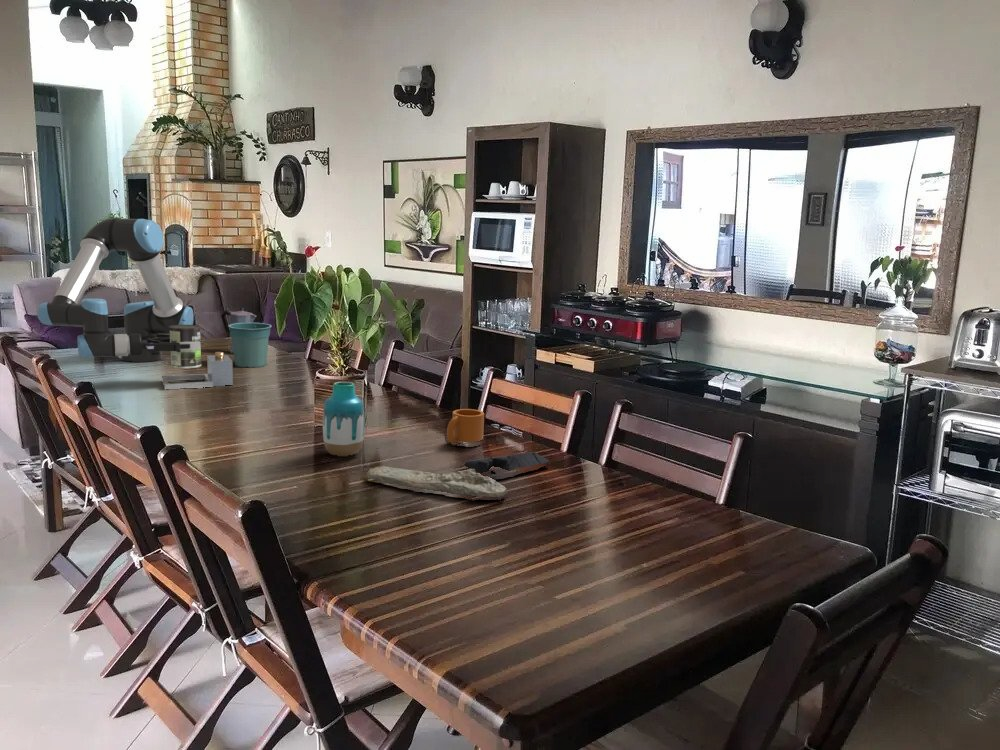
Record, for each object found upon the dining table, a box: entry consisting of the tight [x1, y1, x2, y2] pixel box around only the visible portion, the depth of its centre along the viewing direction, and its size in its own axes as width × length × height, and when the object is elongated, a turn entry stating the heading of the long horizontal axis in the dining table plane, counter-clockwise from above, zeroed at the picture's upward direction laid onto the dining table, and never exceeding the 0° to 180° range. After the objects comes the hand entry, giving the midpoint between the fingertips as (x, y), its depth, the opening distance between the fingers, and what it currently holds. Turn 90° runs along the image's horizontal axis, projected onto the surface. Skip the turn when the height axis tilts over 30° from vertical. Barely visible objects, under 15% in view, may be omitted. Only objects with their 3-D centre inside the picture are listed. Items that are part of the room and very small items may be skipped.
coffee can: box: [169, 324, 202, 370], centre depth 283 cm, size 10×10×14 cm
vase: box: [322, 381, 365, 457], centre depth 210 cm, size 11×11×19 cm
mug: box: [446, 408, 485, 442], centre depth 226 cm, size 9×12×9 cm
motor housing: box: [161, 351, 234, 391], centre depth 286 cm, size 15×22×11 cm
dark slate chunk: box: [464, 451, 550, 473], centre depth 206 cm, size 15×22×5 cm
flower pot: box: [228, 322, 272, 369], centre depth 323 cm, size 16×16×16 cm
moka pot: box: [221, 306, 257, 355], centre depth 348 cm, size 10×15×20 cm, turn 89°
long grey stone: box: [366, 465, 508, 497], centre depth 189 cm, size 35×5×10 cm
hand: (198, 343), depth 285 cm, fingers closed on coffee can, 10 cm apart
